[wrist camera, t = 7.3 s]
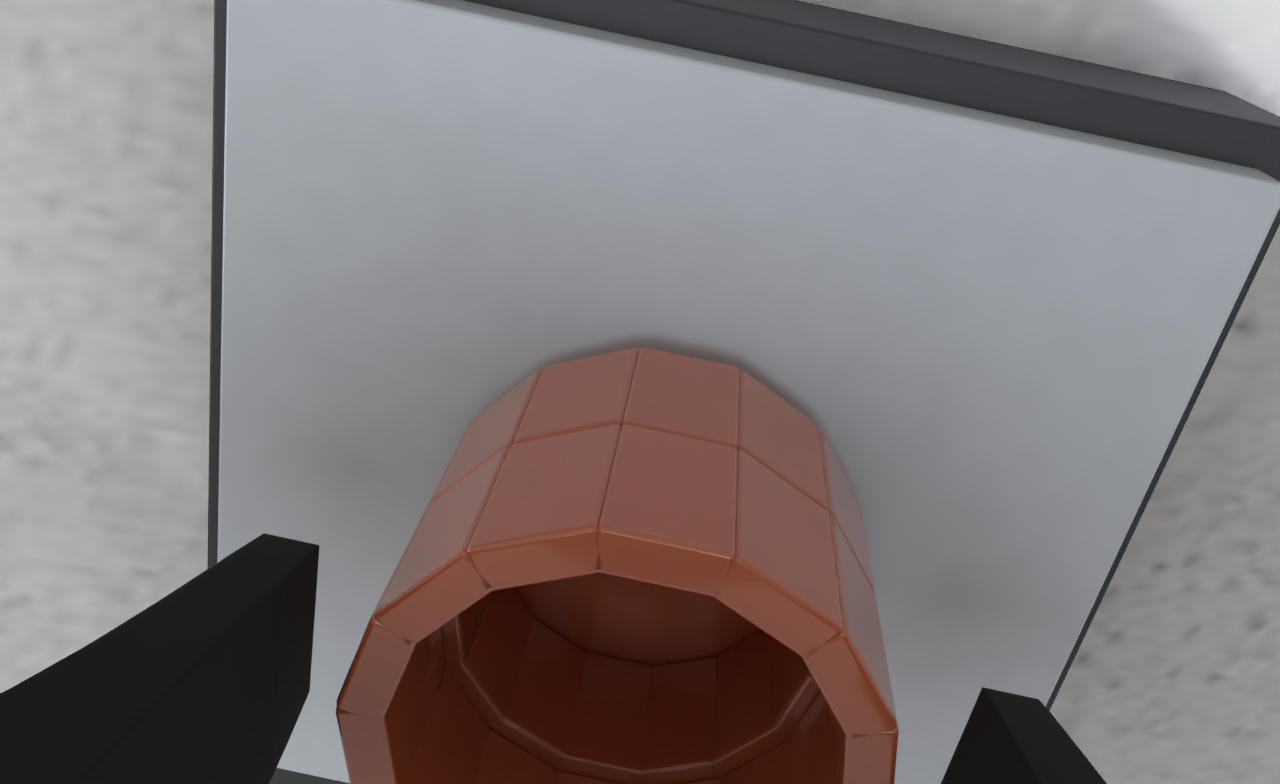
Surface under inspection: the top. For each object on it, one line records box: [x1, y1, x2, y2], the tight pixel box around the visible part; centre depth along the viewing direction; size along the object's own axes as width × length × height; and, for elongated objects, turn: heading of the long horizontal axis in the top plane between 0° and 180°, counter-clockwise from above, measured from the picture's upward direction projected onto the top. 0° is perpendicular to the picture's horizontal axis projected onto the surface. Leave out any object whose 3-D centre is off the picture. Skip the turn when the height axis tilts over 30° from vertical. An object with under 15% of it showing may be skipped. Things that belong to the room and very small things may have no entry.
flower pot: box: [336, 347, 899, 784], centre depth 12 cm, size 5×6×4 cm
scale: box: [208, 0, 1280, 784], centre depth 17 cm, size 15×13×4 cm
